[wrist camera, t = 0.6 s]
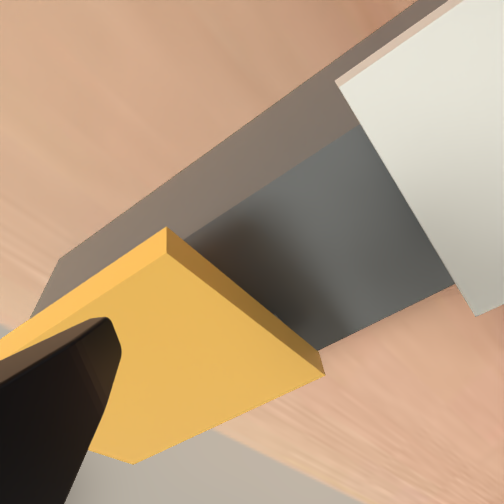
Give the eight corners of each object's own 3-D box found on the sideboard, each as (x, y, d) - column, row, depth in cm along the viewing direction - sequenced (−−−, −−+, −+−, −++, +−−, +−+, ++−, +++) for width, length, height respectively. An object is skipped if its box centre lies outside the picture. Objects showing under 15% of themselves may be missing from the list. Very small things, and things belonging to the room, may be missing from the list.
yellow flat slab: (-51, 374, 18) (-62, 402, 17) (166, 226, 14) (166, 252, 13) (134, 441, 24) (133, 464, 23) (318, 351, 20) (325, 375, 19)
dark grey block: (59, 259, 27) (5, 368, 20) (592, -126, 17) (815, -153, 10) (162, 340, 31) (146, 450, 25) (629, 73, 21) (801, 140, 15)
